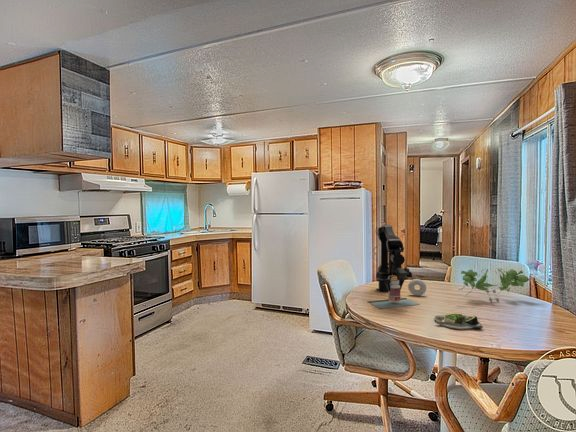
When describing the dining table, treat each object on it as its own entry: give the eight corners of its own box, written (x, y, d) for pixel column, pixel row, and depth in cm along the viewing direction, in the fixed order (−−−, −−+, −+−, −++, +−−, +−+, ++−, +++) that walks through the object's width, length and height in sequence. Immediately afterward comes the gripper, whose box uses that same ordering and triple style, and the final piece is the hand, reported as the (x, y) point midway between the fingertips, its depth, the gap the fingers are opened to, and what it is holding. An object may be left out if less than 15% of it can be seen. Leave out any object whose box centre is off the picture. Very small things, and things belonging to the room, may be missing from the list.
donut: (426, 295, 192) (426, 278, 191) (426, 297, 188) (426, 280, 188) (408, 294, 195) (408, 277, 195) (408, 295, 192) (408, 279, 192)
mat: (369, 303, 178) (369, 302, 178) (408, 299, 184) (408, 299, 184) (379, 308, 168) (379, 308, 168) (419, 304, 174) (419, 304, 174)
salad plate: (445, 333, 135) (445, 322, 135) (423, 319, 153) (423, 309, 153) (489, 331, 137) (489, 320, 137) (462, 317, 155) (462, 307, 154)
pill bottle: (402, 301, 174) (402, 280, 173) (392, 302, 172) (392, 281, 172) (396, 298, 180) (396, 278, 179) (386, 299, 178) (386, 279, 178)
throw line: (367, 302, 180) (367, 301, 180) (405, 298, 186) (405, 297, 186) (368, 302, 179) (368, 302, 179) (406, 299, 185) (406, 298, 185)
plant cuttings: (453, 310, 186) (469, 294, 168) (445, 282, 196) (460, 265, 178) (516, 310, 184) (539, 294, 166) (505, 282, 194) (525, 264, 176)
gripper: (387, 265, 165) (387, 296, 166) (418, 263, 170) (418, 293, 170) (375, 262, 176) (375, 290, 176) (405, 260, 181) (405, 288, 181)
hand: (394, 290), depth 176 cm, fingers closed on pill bottle, 6 cm apart
